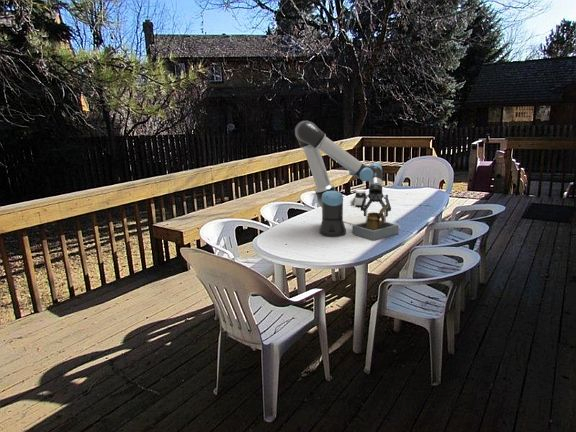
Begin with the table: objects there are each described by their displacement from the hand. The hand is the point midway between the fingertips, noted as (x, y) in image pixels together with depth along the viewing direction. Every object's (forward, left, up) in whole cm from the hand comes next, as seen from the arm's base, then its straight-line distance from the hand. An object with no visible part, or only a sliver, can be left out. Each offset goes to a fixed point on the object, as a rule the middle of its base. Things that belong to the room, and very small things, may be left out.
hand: (375, 221), depth 236 cm
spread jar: (+45, +59, -9) cm, 75 cm away
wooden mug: (+2, +1, -8) cm, 9 cm away
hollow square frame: (+2, +2, -8) cm, 9 cm away
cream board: (+15, +31, -8) cm, 36 cm away
